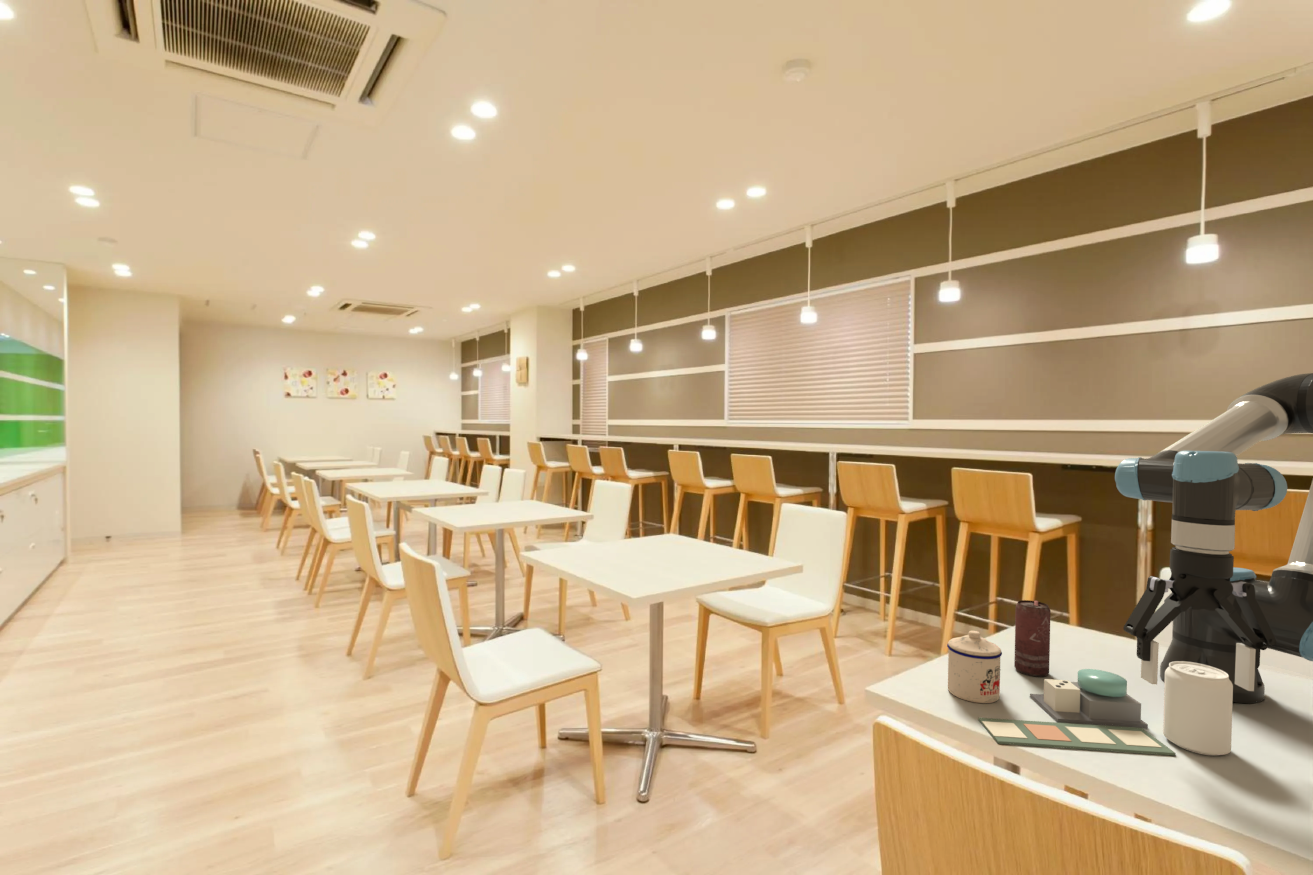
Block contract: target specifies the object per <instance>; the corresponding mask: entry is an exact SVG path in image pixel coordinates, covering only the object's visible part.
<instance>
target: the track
mask: <svg viewBox="0 0 1313 875" xmlns="http://www.w3.org/2000/svg"><path fill="white" fill-rule="evenodd" d="M977 720H978V721H979V723H980V724H981V725H982V727H984V729H985V730H986V731H987V732H988V733H989V735H990V736H991V737H992V738H993V739H994V741H995V742H996V743H997V744H999V745H1014V746H1030V747H1041V748H1044V747H1045V748H1059V749H1070V750H1071V749H1072V750H1088V751H1102V752H1117V753H1131V754H1132V753H1133V754H1147V755H1158V756H1159V755H1161V756H1172V757H1173V756H1175V757H1176V755H1177V754H1176V752H1175V751H1173V750H1172V749H1171V748H1170V747H1168V746H1166V745H1165V744H1164V743H1163V742H1162V741H1160V740H1159V739H1157V738H1156V737H1155V736H1154V735H1152V734H1151V733H1149V732H1148V731H1146V730H1145V728H1139V727H1123V726H1107V725H1092V724H1076V723H1060V722H1057V721H1055V722H1054V721H1039V720H1023V719H1010V718H1009V719H1007V718H1005V719H1004V718H992V717H991V718H990V717H978V719H977Z"/></svg>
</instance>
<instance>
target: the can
mask: <svg viewBox="0 0 1313 875" xmlns="http://www.w3.org/2000/svg"><path fill="white" fill-rule="evenodd" d="M1051 613H1052V612H1051V609H1050V607H1049V605H1048V604H1047V603H1044V602H1041V601H1038V600H1027V599H1026V600H1025V599H1023V600H1022V599H1021V600H1018V601H1017V603H1016V604H1015V621H1014V622H1015V626H1014V629H1015V630H1014V668H1015V670H1016V671H1017V672H1019V673H1020V674H1023V675H1026V676H1029V677H1034V678H1044V677H1046V676H1048V675H1049V674H1050V655H1051V654H1050V652H1051V651H1050V650H1051V649H1050V648H1051V642H1050V641H1051Z"/></svg>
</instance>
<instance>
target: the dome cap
mask: <svg viewBox="0 0 1313 875" xmlns="http://www.w3.org/2000/svg"><path fill="white" fill-rule="evenodd" d="M1077 682H1078V685H1079V686H1080V687H1081V688H1083V689H1085V690H1087V691H1089V692H1092V693H1094V694H1096V695H1097V696H1111V697H1122V696H1125V695H1126V694H1128V681H1127V679H1126V678H1124V677H1123V676H1121V675H1119V674H1116V673H1114V672H1110V671H1106V670H1102V669H1095V668H1083V669H1079V670H1078V671H1077Z"/></svg>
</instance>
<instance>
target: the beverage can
mask: <svg viewBox="0 0 1313 875" xmlns="http://www.w3.org/2000/svg"><path fill="white" fill-rule="evenodd" d="M1163 689H1164V690H1163V691H1164V693H1163V695H1164V696H1163V725H1162V727H1163V728H1162V729H1163V730H1162V732H1163V736H1164V737H1165V738H1166V739H1167V740H1168V741H1170V742H1172V743H1173V744H1174V745H1176V746H1177V747H1180V748H1182V749H1184V750H1187V751H1188V752H1191V753H1194V754H1195V753H1196V754H1200V755H1204V756H1224V755H1228V754H1230V753H1231V751H1232V735H1233V734H1232V728H1233V702H1232V701H1233V685H1232V682H1231V681H1230V680H1229V675H1228V674H1227V673H1226V672H1224V671H1222V670H1220V669H1217V668H1215V667H1211V666H1208V665H1204V664H1199V663H1194V662H1186V661H1174V662H1170V663H1169V667H1168V668H1167V669H1166V670H1165V681H1164V688H1163Z"/></svg>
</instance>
